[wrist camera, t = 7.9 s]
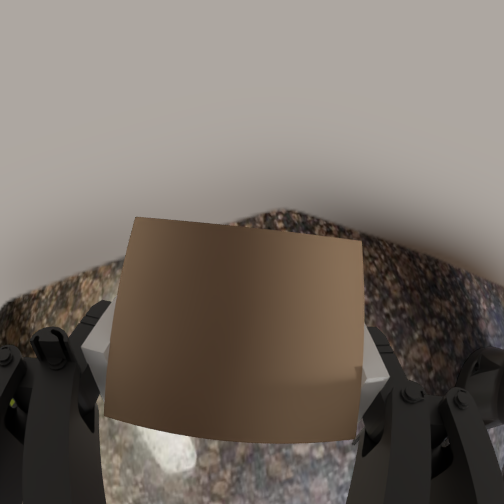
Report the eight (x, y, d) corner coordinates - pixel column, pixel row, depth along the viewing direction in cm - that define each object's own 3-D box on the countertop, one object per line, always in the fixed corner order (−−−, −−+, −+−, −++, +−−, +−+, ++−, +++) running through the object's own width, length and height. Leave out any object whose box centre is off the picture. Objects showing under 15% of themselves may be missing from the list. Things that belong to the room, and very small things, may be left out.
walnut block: (297, 299, 17) (361, 241, 8) (290, 397, 14) (355, 439, 6) (182, 287, 16) (135, 216, 8) (170, 385, 14) (104, 415, 6)
